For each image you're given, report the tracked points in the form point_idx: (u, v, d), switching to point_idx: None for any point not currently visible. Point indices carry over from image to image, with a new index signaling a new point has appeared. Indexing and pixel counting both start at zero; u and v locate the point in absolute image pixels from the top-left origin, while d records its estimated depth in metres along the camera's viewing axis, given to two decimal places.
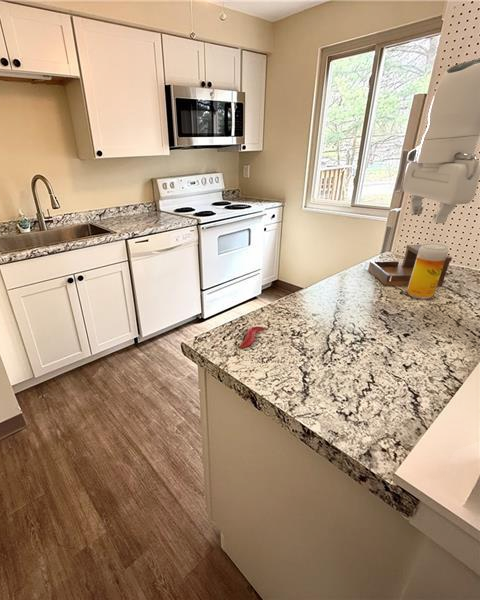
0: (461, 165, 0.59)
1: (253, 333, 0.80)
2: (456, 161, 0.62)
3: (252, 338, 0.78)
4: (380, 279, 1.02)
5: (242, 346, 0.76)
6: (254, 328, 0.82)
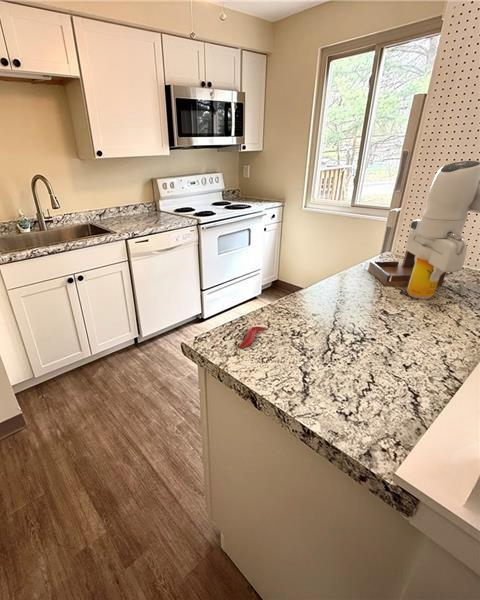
0: (452, 243, 0.77)
1: (253, 333, 0.80)
2: (449, 238, 0.79)
3: (252, 338, 0.78)
4: (380, 279, 1.02)
5: (241, 346, 0.76)
6: (254, 328, 0.82)
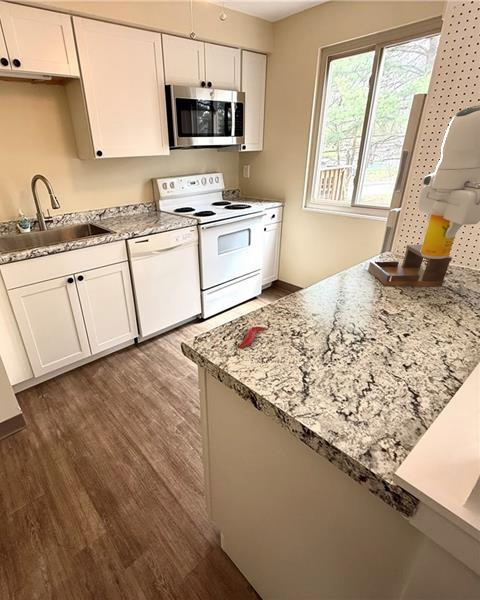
0: (470, 192, 0.72)
1: (253, 333, 0.80)
2: (466, 188, 0.74)
3: (252, 338, 0.78)
4: (380, 279, 1.02)
5: (241, 346, 0.76)
6: (254, 328, 0.82)
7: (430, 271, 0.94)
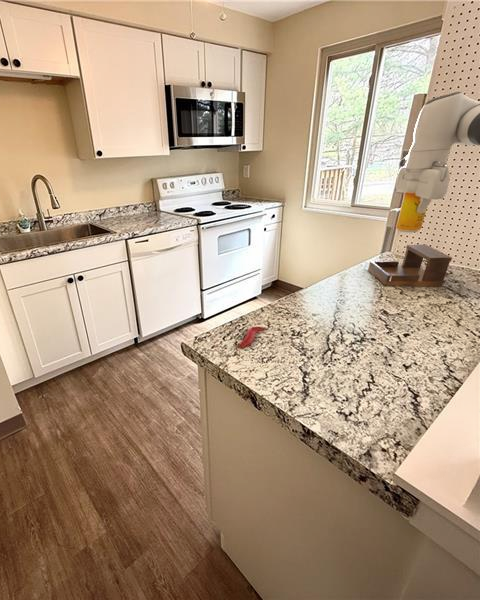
0: (436, 171, 0.82)
1: (253, 333, 0.80)
2: (433, 167, 0.84)
3: (251, 338, 0.78)
4: (380, 279, 1.02)
5: (241, 346, 0.76)
6: (254, 328, 0.82)
7: (430, 271, 0.94)
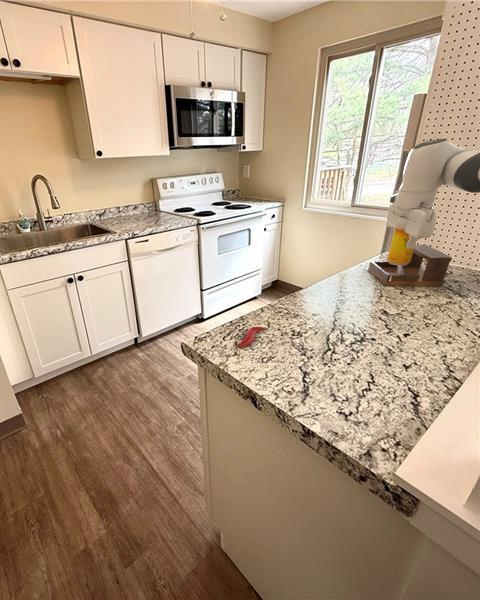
0: (423, 212, 0.87)
1: (253, 333, 0.80)
2: (421, 207, 0.89)
3: (251, 338, 0.78)
4: (380, 279, 1.02)
5: (240, 345, 0.76)
6: (254, 328, 0.82)
7: (430, 271, 0.94)
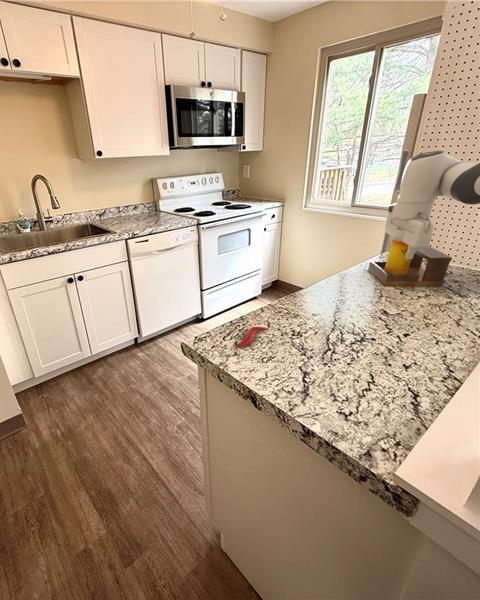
0: (420, 223, 0.88)
1: (253, 333, 0.80)
2: (418, 218, 0.91)
3: (251, 338, 0.78)
4: (380, 279, 1.02)
5: (240, 345, 0.76)
6: (254, 328, 0.82)
7: (430, 271, 0.94)
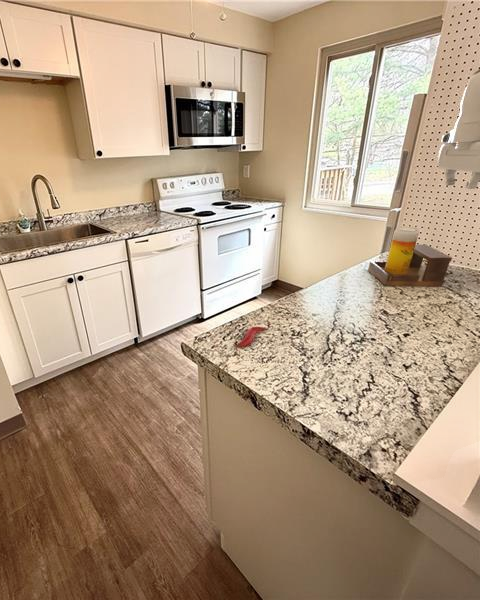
0: None
1: (253, 333, 0.80)
2: None
3: (251, 338, 0.78)
4: (380, 279, 1.02)
5: (239, 345, 0.76)
6: (255, 328, 0.82)
7: (430, 271, 0.94)
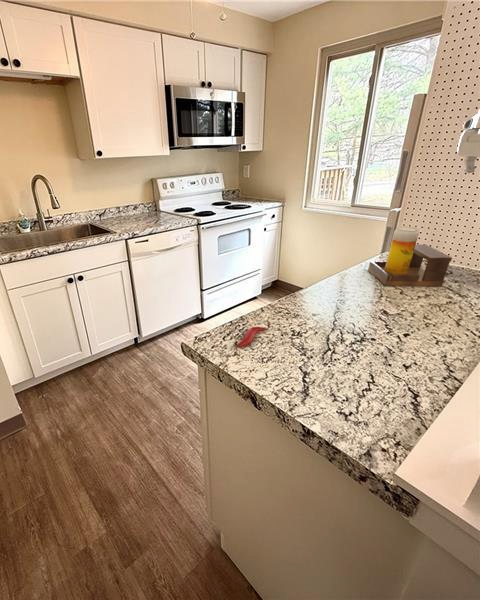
0: None
1: (253, 333, 0.80)
2: None
3: (251, 338, 0.78)
4: (380, 279, 1.02)
5: (239, 345, 0.76)
6: (255, 328, 0.82)
7: (430, 271, 0.94)
